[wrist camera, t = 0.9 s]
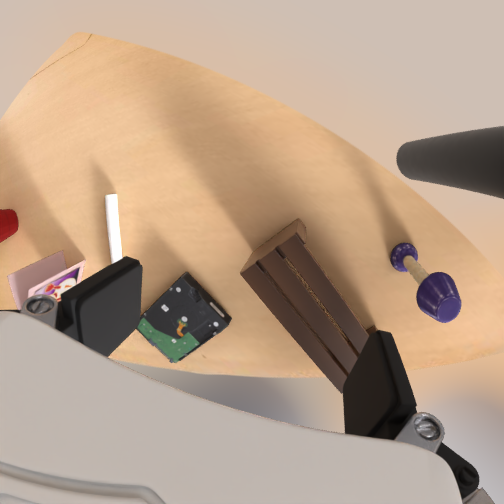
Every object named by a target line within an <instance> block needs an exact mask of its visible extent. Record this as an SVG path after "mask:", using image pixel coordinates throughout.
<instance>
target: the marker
mask: <svg viewBox="0 0 504 504" xmlns="http://www.w3.org/2000/svg"><path fill="white" fill-rule="evenodd" d="M105 206H106V220H107V229H108V239H109V247H110V255H111V263H112V264H113V263H115V262H116V261H118V260H120V259H122V258H123V256H122V247H121V238H120V228H119V216H118V201H117V194H108V195H105Z"/></svg>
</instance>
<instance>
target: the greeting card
mask: <svg viewBox="0 0 504 504" xmlns="http://www.w3.org/2000/svg"><path fill="white" fill-rule="evenodd" d="M85 261H86V260H84V261H82V262H80V263H78V264H76V265H74V266H72V267H70V268H68V269H67V267H66V263H65V258H64V254H63V250H62V251H60V252H57V253H55V254H53V255H51V256H48V257H46V258H44V259H42V260H40V261H37V262H35V263H33V264H31V265H29V266H27V267H25V268H23V269H20V270H18V271H16V272H14V273H12V274H10V275H8V276H7V277H8V281H9V284H10V287H11V291H12V294H13V297H14V300H15V303H16V306H17V309H18V310H21V309H22V305H23V303H24V301H25V300H26V299H27V298H29V297H31V296H34V295H38V294H46V295H50V296H52V297H54V298H55V299H56V300H57V302H60V301H61V295H60V294H62V293H63V292H65V291H67V290H68V289H70V288H72V287H73V286H75V285H77V284H78V283H80V282H81V278H82V274H83V269H84V265H85Z"/></svg>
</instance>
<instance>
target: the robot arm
mask: <svg viewBox="0 0 504 504" xmlns="http://www.w3.org/2000/svg"><path fill="white" fill-rule="evenodd" d="M142 271H143V267H142V265H140V262H139V260H136V259H133V258H130V257H127V256H126V257H123V258H122V259H120V260H118V261H116V262H115V263H113V264H111V265H109V266H107V267H106V268H104V269H102V270H100V271H99V272H97V273H95V274H94V275H92V276H90V277H88V278H87V279H85V280H83V281H82V282H80V283H78V284H77V285H75V286H73V287H72V288H70V289H68V290H67V291H65V292H63V293H62V294H60V295H61V301H60V302H57V300H56V299H55V298H54V297H52V296H50V295H46V294H38V295H34V296H31V297H29V298H27V299H26V300H25V301H24V303H23V305H22V309H21V310H0V504H495V503H494V502H493V501H492V499H491V498H490V497H489V496H488V494H487V493H486V491H485V490H484V489H483V488H481V489H478V488H477V487H478V485H479V475H478V472H477V470H476V469H475V468H474V467H473V466H472V465H471V464H470V463H468V462H467V461H466V460H464V459H463V458H462V457H460V456H459V455H458V454H456V453H455V452H454V451H452V450H451V449H450V448H449V447H447V446H446V445H444V444H443V443H442V440H443V438H444V434H445V432H444V427H443V425H442V423H441V422H440V421H439V420H438V419H437V418H436V417H435V416H433V415H431V414H429V413H425V412H419V413H417V411H416V406H417V404H416V401H415V398H414V395H413V392H412V389H411V386H410V383H409V380H408V377H407V374H406V371H405V368H404V365H403V363H402V360H401V357H400V354H399V352H398V349H397V347H396V344H395V341H394V339H393V336H392V334H391V333H390V332H385V331H381V330H376V332H375V333H374V332H372V333H371V334H370V335H369V337H368V339H367V341H366V343H365V345H364V347H363V349H362V351H361V353H360V355H359V357H358V359H357V361H356V363H355V364H354V366H353V368H352V370H351V372H350V374H349V375H348V377H347V379H346V381H345V383H344V385H343V402H344V421H345V434H344V433H337V432H330V431H325V430H319V429H314V428H309V427H304V426H298V425H294V424H290V423H285V422H281V421H277V420H273V419H269V418H265V417H262V416H258V415H254V414H251V413H247V412H243V411H240V410H237V409H234V408H230V407H227V406H224V405H221V404H218V403H215V402H212V401H209V400H206V399H203V398H200V397H198V396H195V395H192V394H189V393H187V392H184V391H181V390H179V389H176V388H174V387H171V386H169V385H166V384H164V383H161V382H159V381H157V380H154V379H152V378H150V377H148V376H145V375H143V374H141V373H138V372H136V371H134V370H132V369H130V368H128V367H126V366H123V365H121V364H119V363H117V362H115V361H113V360H111V359H109V358H107V357H108V356H109V355H110V354H111V353H112V352H113V351H114V350H115V349H116V348H117V347H118V346H119V345H120V344H121V343H122V342H123V341H124V340H125V339H126V338H127V337H128V336H129V335H130V334H131V333H132V332H133V331H134V330H135V329H136V328H137V327H138V325H139V323H140V314H141V287H142Z"/></svg>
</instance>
